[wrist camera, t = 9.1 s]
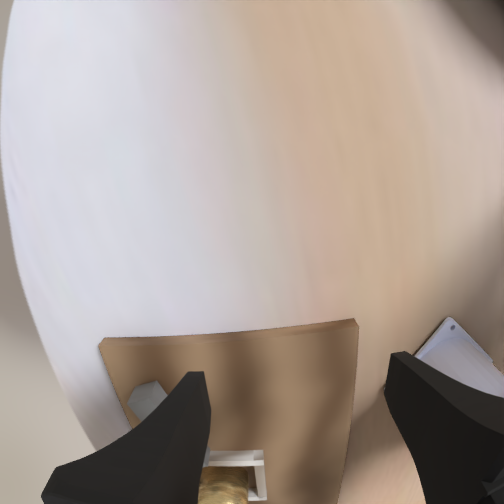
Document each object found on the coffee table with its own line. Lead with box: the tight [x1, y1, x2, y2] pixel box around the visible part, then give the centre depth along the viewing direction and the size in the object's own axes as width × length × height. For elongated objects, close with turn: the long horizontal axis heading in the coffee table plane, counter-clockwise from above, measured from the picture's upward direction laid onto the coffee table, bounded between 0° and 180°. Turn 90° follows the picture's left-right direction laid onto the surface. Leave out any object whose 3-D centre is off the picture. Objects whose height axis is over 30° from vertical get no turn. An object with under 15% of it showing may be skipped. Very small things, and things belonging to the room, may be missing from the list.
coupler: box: [198, 466, 249, 504], centre depth 20 cm, size 5×4×7 cm
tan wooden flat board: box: [98, 318, 359, 504], centre depth 23 cm, size 18×28×4 cm, turn 6°
